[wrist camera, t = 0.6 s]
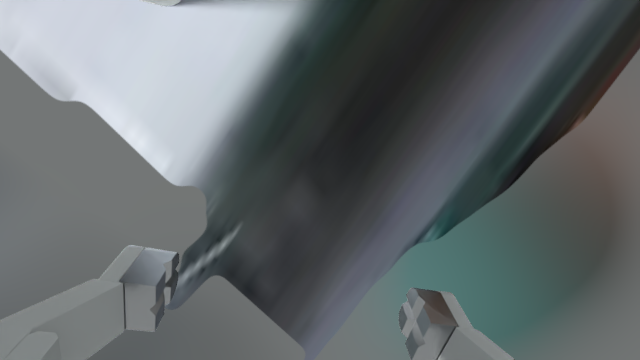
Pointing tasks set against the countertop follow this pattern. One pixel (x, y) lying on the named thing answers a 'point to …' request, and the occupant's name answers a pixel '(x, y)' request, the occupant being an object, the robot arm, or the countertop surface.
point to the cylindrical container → (163, 2)
